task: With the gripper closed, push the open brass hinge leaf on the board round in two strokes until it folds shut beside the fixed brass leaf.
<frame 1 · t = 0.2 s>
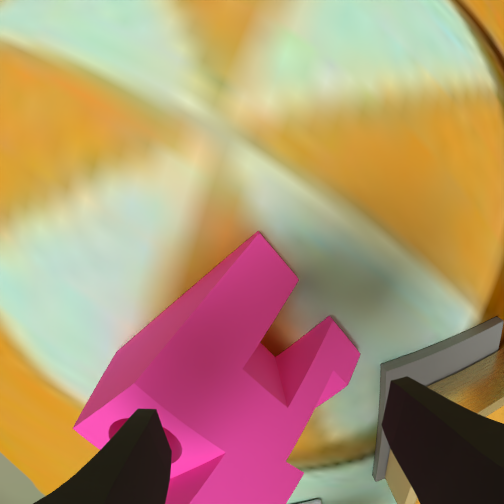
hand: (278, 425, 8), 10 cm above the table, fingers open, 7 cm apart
hinge mount: (406, 397, 21), on the table
brass leaf: (483, 387, 17), point 4 cm above the table, hinge at 90.0°
bracket: (236, 353, 19), on the table
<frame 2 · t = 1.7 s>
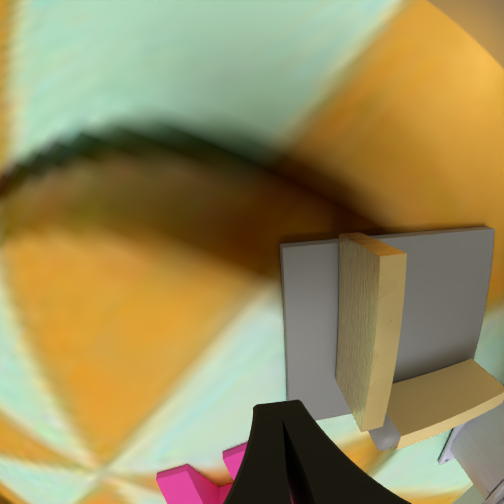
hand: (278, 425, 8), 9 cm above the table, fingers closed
hinge mount: (352, 377, 19), on the table
brass leaf: (364, 333, 14), point 4 cm above the table, hinge at 90.0°
bracket: (246, 487, 22), on the table
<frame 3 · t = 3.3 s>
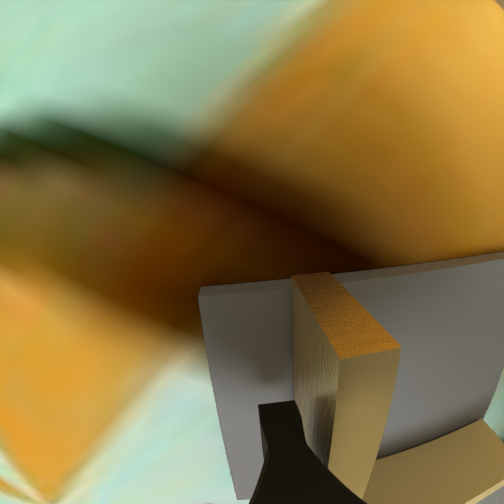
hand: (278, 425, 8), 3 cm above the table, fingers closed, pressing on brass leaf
hinge mount: (320, 451, 13), on the table
brass leaf: (325, 432, 8), point 4 cm above the table, hinge at 89.8°, touching gripper
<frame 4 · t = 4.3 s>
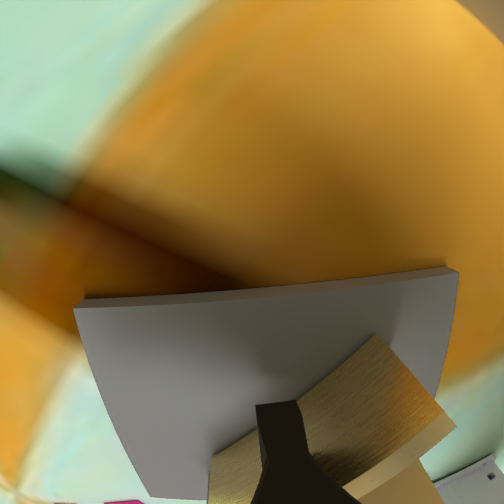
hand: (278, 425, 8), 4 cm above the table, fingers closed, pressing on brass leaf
hinge mount: (223, 462, 13), on the table
brass leaf: (307, 456, 9), point 4 cm above the table, hinge at 40.2°, touching gripper
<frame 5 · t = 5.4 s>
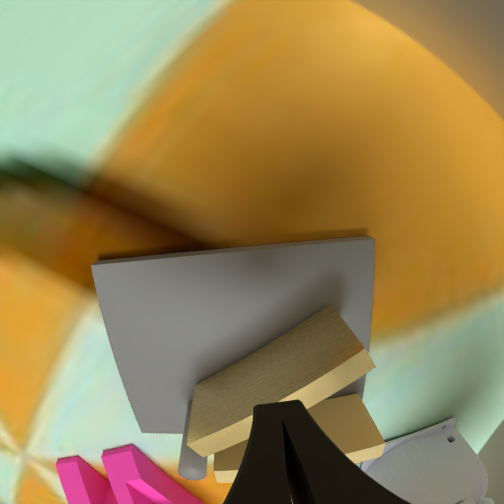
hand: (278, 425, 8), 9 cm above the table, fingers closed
hinge mount: (200, 397, 18), on the table
brass leaf: (271, 381, 14), point 4 cm above the table, hinge at 29.3°
bracket: (135, 488, 21), on the table
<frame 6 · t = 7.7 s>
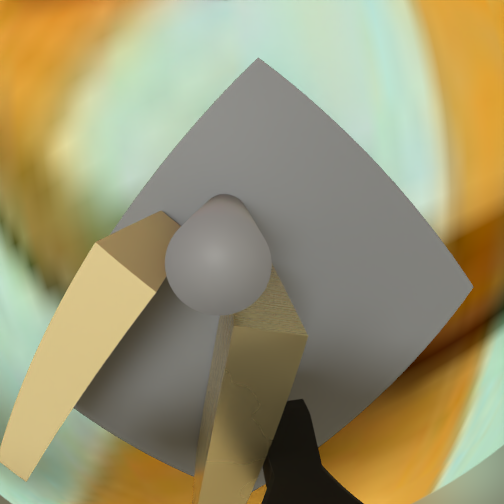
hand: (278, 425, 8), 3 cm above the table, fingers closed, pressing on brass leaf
hinge mount: (224, 213, 10), on the table
brass leaf: (225, 425, 8), point 4 cm above the table, hinge at 28.9°, touching gripper
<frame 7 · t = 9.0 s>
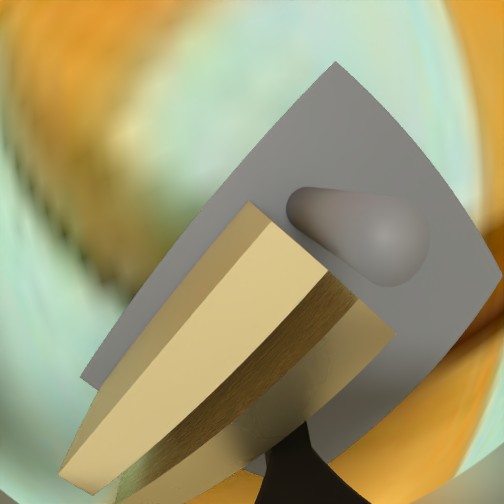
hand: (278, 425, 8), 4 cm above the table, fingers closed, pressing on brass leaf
hinge mount: (300, 206, 11), on the table
brass leaf: (220, 395, 8), point 4 cm above the table, hinge at -0.5°, touching gripper
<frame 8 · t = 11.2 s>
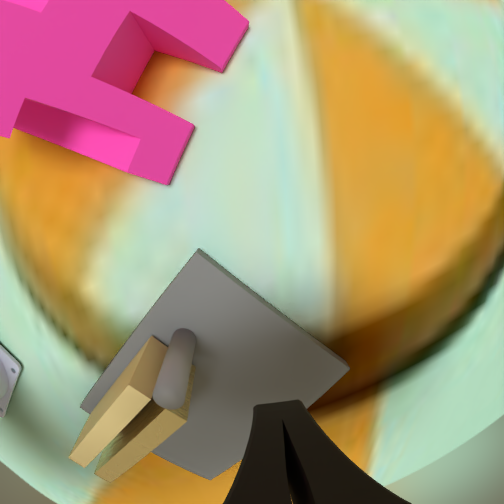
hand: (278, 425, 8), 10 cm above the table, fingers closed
hinge mount: (186, 331, 18), on the table
brass leaf: (141, 425, 15), point 4 cm above the table, hinge at -0.6°
bracket: (118, 70, 15), on the table
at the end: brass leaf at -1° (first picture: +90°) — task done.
